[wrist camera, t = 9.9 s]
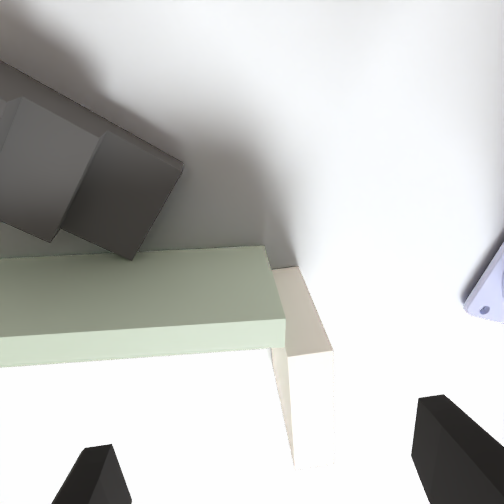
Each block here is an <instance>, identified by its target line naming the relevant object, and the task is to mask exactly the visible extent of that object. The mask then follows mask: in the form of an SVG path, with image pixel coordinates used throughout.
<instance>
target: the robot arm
mask: <svg viewBox="0 0 504 504" xmlns="http://www.w3.org/2000/svg"><path fill="white" fill-rule="evenodd" d="M463 306H464V310H465V311H466V312H467V313H468V314H469V315H471V316H475V317H479V318H483V319H487V320H491V321H495V322H499V323H503V324H504V242H503V244H502V245H501V247H500V248H499V250H498V251H497V253H496V255H495V256H494V258H493V259H492V261H491V262H490V264H489V265H488V267H487V269H486V270H485V272H484V273H483V275H482V276H481V278H480V279H479V281H478V282H477V284H476V286H475V287H474V289H473V290H472V292H471V293H470V295H469V296H468V298H467V300H466V301H465V303H464V305H463ZM484 306H485V307H484ZM482 307H484V308H483V309H481V308H482ZM480 309H481V310H480ZM411 456H412V459H413V462H414V464H415V467H416V469H417V472H418V475H419V477H420V480H421V483H422V485H423V487H424V490H425V492H426V495H427V497H428V500H429V502H430V504H504V447H503V446H502V445H501V444H500V443H499V442H497V441H496V440H495V439H494V438H493V437H492V436H490V435H489V434H488V433H487V432H486V431H485V430H484V429H482V428H481V427H480V426H479V425H478V424H477V423H476V422H475V421H473V420H472V419H471V418H470V417H469V416H468V415H467V414H465V413H464V412H463V411H462V410H461V409H460V408H459V407H458V406H456V405H455V404H454V403H453V402H452V401H451V400H450V399H448V398H447V397H446V396H445V395H444V394H443V395H437V396H430V397H423V398H419V399H418V407H417V414H416V422H415V430H414V438H413V446H412V454H411ZM131 502H132V499H131V496H130V493H129V491H128V488H127V485H126V482H125V479H124V477H123V474H122V471H121V468H120V465H119V463H118V460H117V457H116V454H115V452H114V449H113V446H112V444H109V445H102V446H96V447H89V448H85V449H84V450H83V451H82V452H81V454H80V455H79V457H78V459H77V461H76V462H75V464H74V466H73V468H72V469H71V471H70V473H69V475H68V476H67V478H66V480H65V482H64V483H63V485H62V487H61V488H60V490H59V492H58V493H57V495H56V497H55V499H54V500H53V502H52V504H131Z"/></svg>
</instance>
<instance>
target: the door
mask: <svg viewBox="0 0 504 504" xmlns="http://www.w3.org/2000/svg"><path fill="white" fill-rule="evenodd" d="M285 329H286V317H285V314H284V310H283V307H282V304H281V300H280V297H279V294H278V290H277V287H276V283H275V280H274V277H273V273H272V270H271V267H270V263H269V260H268V256H267V253H266V250H265V246H243V247H223V248H202V249H182V250H162V251H141V252H137V253H136V255H135V256H134V258H133V260H132V261H131V260H128V259H126V258H124V257H122V256H120V255H118V254H115V253H100V254H80V255H60V256H39V257H19V258H0V368H2V367H16V366H30V365H44V364H58V363H72V362H86V361H100V360H114V359H128V358H142V357H156V356H170V355H184V354H198V353H212V352H226V351H240V350H254V349H268V348H281V347H285Z"/></svg>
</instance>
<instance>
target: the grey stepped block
mask: <svg viewBox="0 0 504 504" xmlns="http://www.w3.org/2000/svg"><path fill="white" fill-rule="evenodd" d="M182 170H183V162H181V161H179V160H177V159H176V158H174V157H172V156H170V155H168V154H167V153H165V152H163V151H161V150H159V149H158V148H156V147H154V146H152V145H151V144H149V143H147V142H145V141H143V140H142V139H140V138H138V137H136V136H134V135H133V134H131V133H129V132H127V131H126V130H124V129H122V128H120V127H118V126H117V125H115V124H113V123H111V122H109V121H108V120H106V119H104V118H102V117H101V116H99V115H97V114H95V113H93V112H92V111H90V110H88V109H86V108H85V107H83V106H81V105H79V104H77V103H76V102H74V101H72V100H70V99H68V98H67V97H65V96H63V95H61V94H60V93H58V92H56V91H54V90H52V89H51V88H49V87H47V86H45V85H43V84H42V83H40V82H38V81H36V80H35V79H33V78H31V77H29V76H27V75H26V74H24V73H22V72H20V71H18V70H17V69H15V68H13V67H11V66H10V65H8V64H6V63H4V62H2V61H1V60H0V221H2V222H4V223H6V224H9V225H11V226H13V227H15V228H18V229H20V230H22V231H24V232H27V233H29V234H31V235H33V236H36V237H38V238H40V239H42V240H45V241H47V242H49V243H50V242H51V241H52V239H53V238H54V237H55V235H56V234H57V232H58V231H59V230H60V228H61V229H63V230H65V231H67V232H69V233H72V234H74V235H76V236H78V237H80V238H82V239H85V240H87V241H89V242H91V243H93V244H96V245H98V246H100V247H102V248H104V249H107V250H109V251H111V252H113V253H115V254H118V255H120V256H122V257H124V258H126V259H128V260H131V261H132V260H133V258H134V256H135V255H136V253H137V251H138V249H139V248H140V246H141V244H142V242H143V240H144V239H145V237H146V235H147V233H148V232H149V230H150V228H151V226H152V224H153V223H154V221H155V219H156V217H157V216H158V214H159V212H160V210H161V209H162V207H163V205H164V203H165V201H166V200H167V198H168V196H169V194H170V193H171V191H172V189H173V187H174V185H175V184H176V182H177V180H178V178H179V177H180V175H181V173H182Z"/></svg>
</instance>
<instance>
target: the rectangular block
mask: <svg viewBox="0 0 504 504" xmlns="http://www.w3.org/2000/svg"><path fill="white" fill-rule="evenodd" d="M272 273H273V277H274V280H275V283H276V287H277V290H278V294H279V297H280V300H281V304H282V307H283V310H284V314H285V317H286V329H285V347H281V348H271V350H272V361H273V370H274V374H275V379H276V384H277V388H278V393H279V398H280V402H281V407H282V412H283V416H284V421H285V426H286V430H287V435H288V440H289V444H290V449H291V454H292V458H293V463H294V468H295V470H298V469H304V468H311V467H317V466H323V465H330V464H333V348H332V346H331V344H330V341H329V339H328V336H327V334H326V332H325V329H324V327H323V324H322V322H321V320H320V317H319V315H318V312H317V310H316V308H315V305H314V303H313V300H312V298H311V296H310V293H309V291H308V288H307V286H306V283H305V281H304V279H303V276H302V274H301V271H300V269H299V267H298V266H296V267H289V268H281V269H274V270H272Z"/></svg>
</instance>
